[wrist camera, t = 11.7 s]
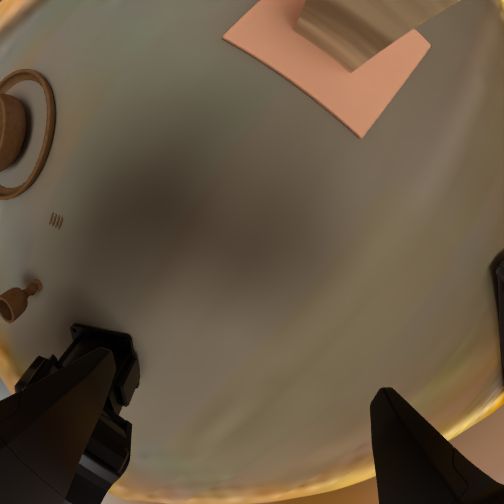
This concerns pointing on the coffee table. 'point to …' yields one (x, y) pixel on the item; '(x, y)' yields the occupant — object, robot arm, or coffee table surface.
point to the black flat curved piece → (501, 305)
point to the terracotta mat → (326, 63)
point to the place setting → (4, 153)
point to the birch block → (362, 25)
